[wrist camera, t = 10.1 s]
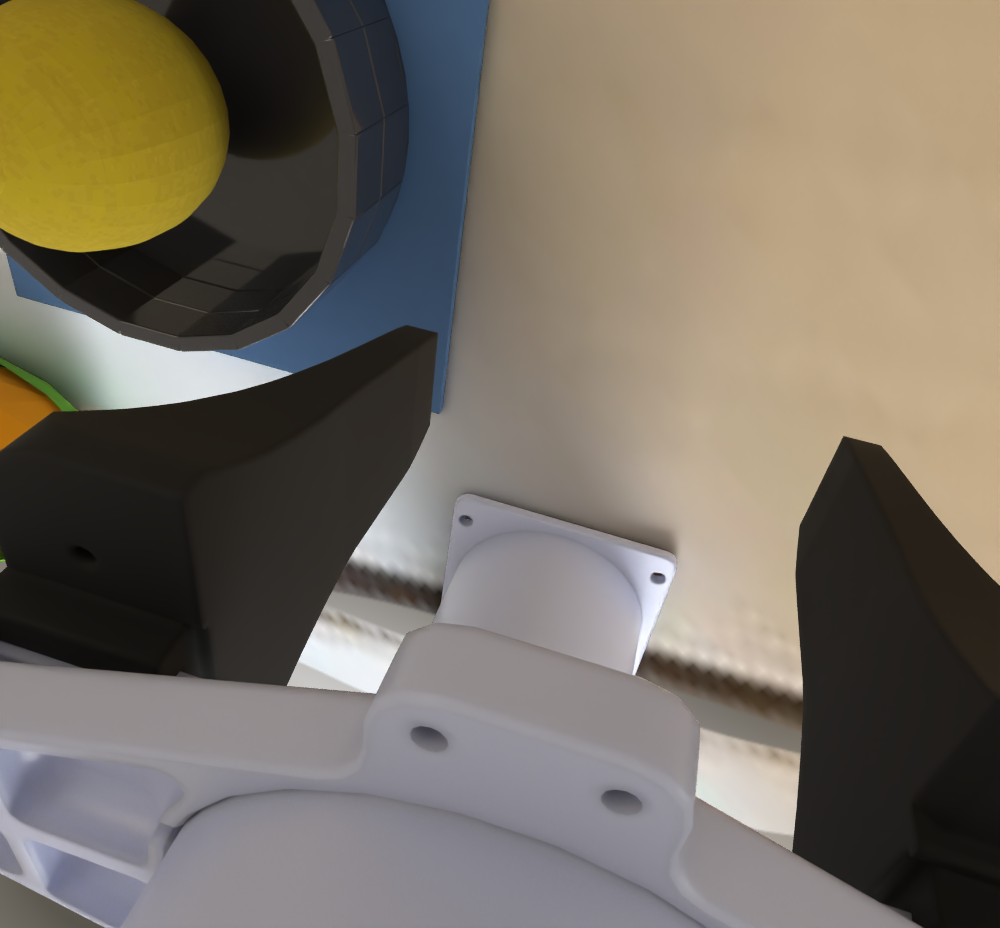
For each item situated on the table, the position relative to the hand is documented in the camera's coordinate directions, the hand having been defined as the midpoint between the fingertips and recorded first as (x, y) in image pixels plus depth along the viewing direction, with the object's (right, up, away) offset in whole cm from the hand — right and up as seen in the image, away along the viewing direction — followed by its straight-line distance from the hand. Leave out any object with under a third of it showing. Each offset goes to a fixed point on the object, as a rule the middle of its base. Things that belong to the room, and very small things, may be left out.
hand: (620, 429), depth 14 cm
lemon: (-11, +10, +8) cm, 17 cm away
